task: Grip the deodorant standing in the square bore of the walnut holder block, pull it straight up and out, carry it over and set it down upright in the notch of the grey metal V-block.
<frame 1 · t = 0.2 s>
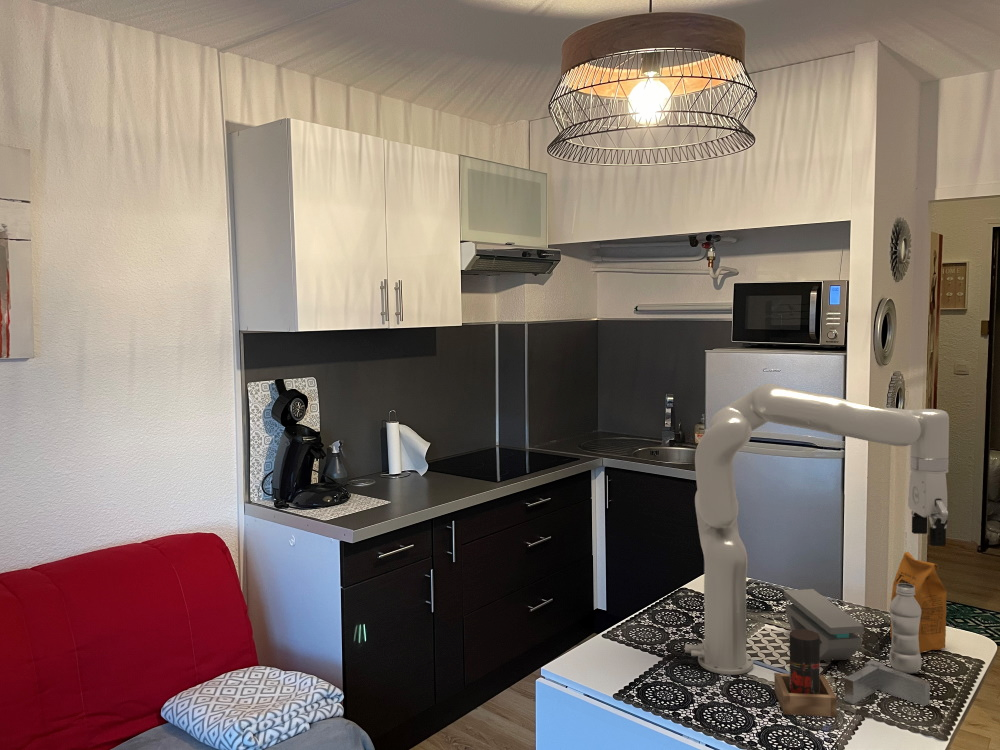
hand: (928, 539, 179), 31 cm above the table, tool pointing down, fingers open, 9 cm apart
deodorant: (804, 704, 168), on the table
holder block: (804, 703, 168), on the table
v block: (884, 700, 169), on the table
coffee package: (916, 644, 197), on the table
plastic bottle: (905, 671, 182), on the table
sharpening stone: (821, 651, 194), on the table
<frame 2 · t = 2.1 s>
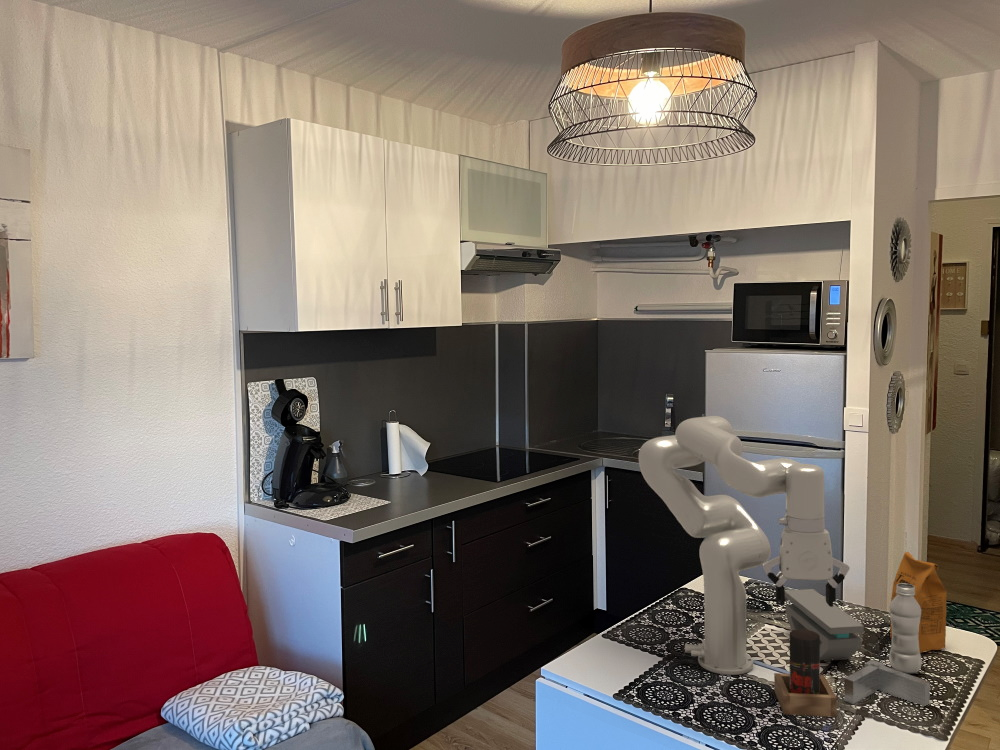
hand: (805, 603, 167), 22 cm above the table, tool pointing down, fingers open, 9 cm apart
nothing on the table moved.
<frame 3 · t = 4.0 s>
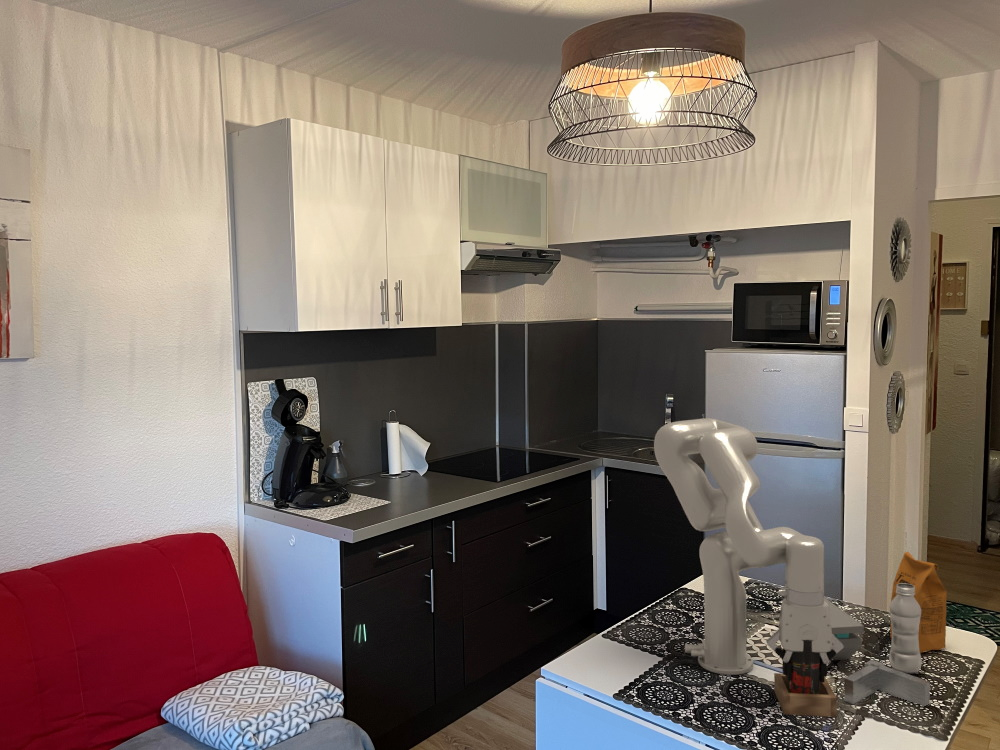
hand: (804, 677, 168), 6 cm above the table, tool pointing down, fingers closed on deodorant, 5 cm apart
deodorant: (804, 704, 168), on the table, touching gripper
everything else where it was.
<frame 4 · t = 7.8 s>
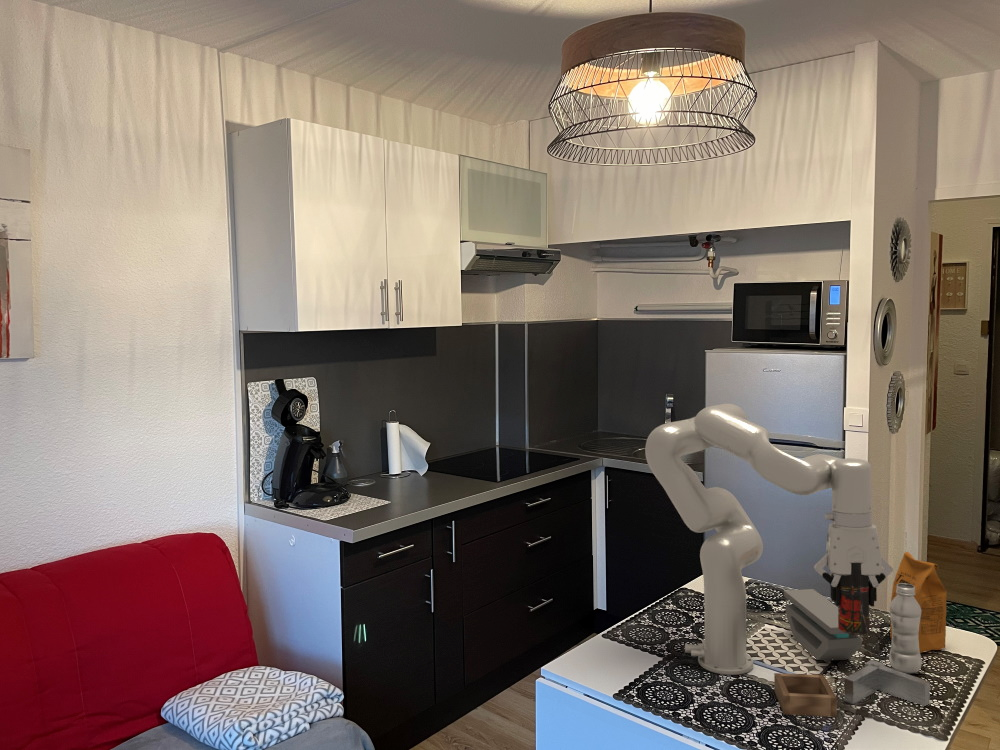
hand: (853, 603, 165), 22 cm above the table, tool pointing down, fingers closed on deodorant, 5 cm apart
deodorant: (853, 630, 166), point 16 cm above the table, touching gripper
everything else where it was.
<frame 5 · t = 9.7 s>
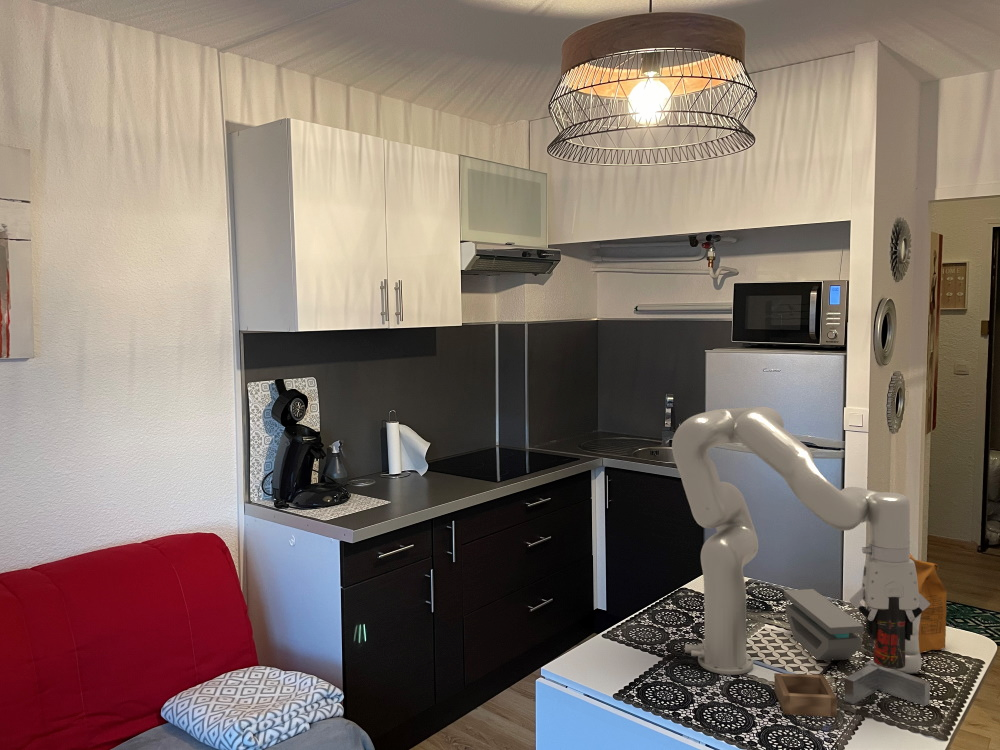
hand: (889, 636, 166), 15 cm above the table, tool pointing down, fingers closed on deodorant, 5 cm apart
deodorant: (889, 663, 166), point 9 cm above the table, touching gripper
everything else where it was.
when the fingers open (7 cm above the table, at t = 11.5 s): deodorant drops 1 cm, on the table.
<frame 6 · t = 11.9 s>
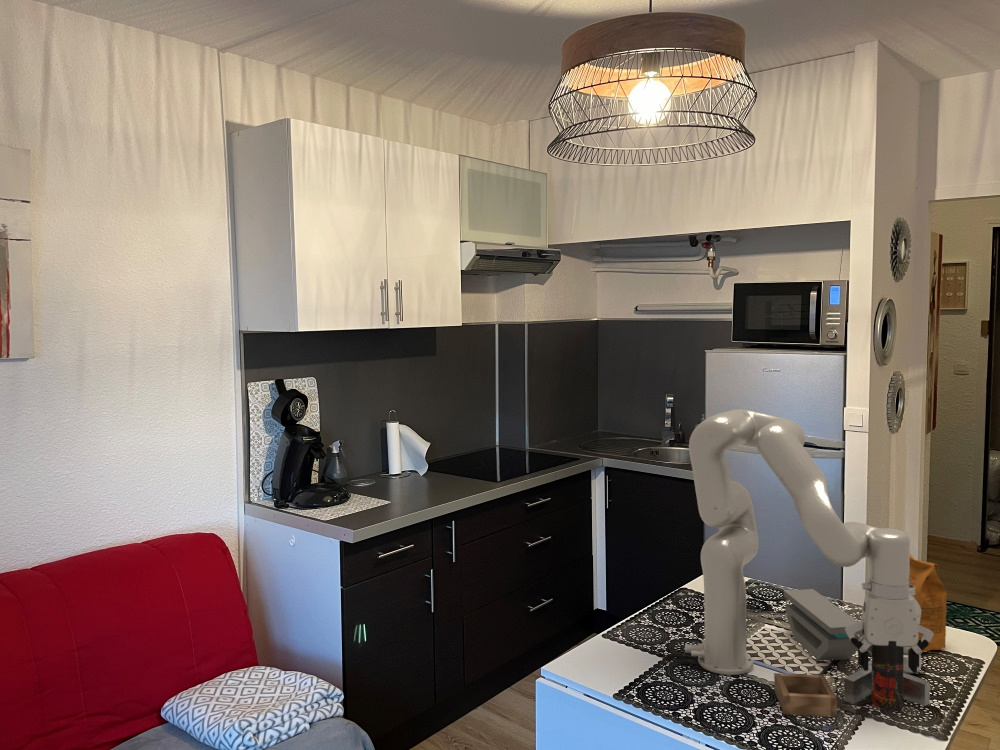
hand: (888, 669, 166), 8 cm above the table, tool pointing down, fingers open, 9 cm apart
deodorant: (887, 705, 167), on the table
everything else where it was.
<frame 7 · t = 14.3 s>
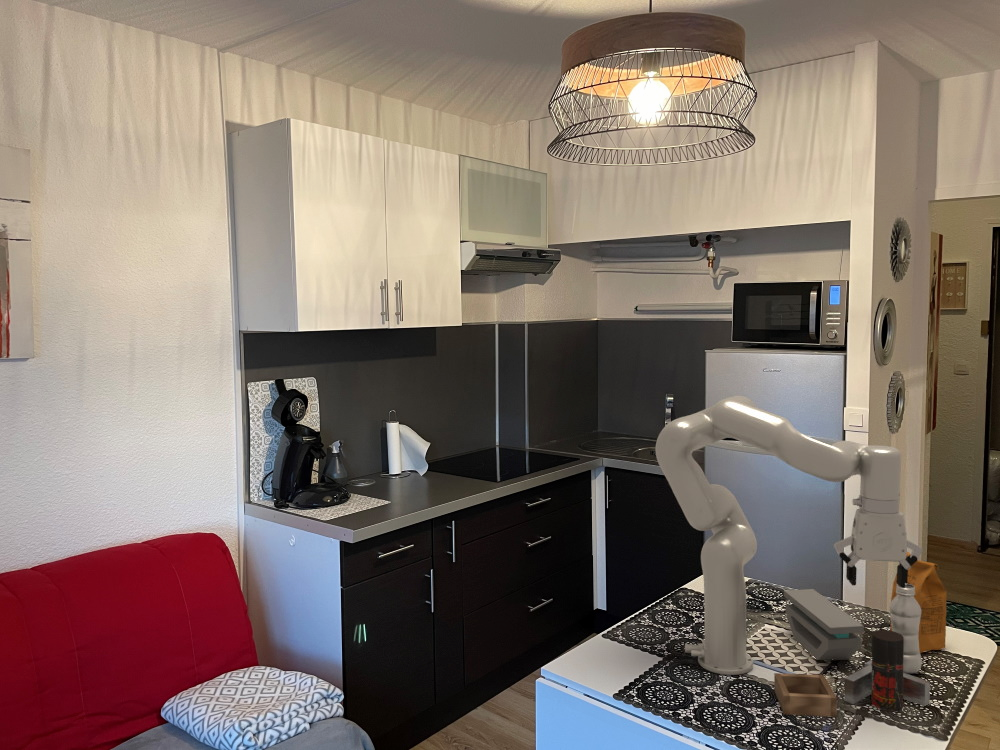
hand: (876, 584, 168), 25 cm above the table, tool pointing down, fingers open, 9 cm apart
nothing on the table moved.
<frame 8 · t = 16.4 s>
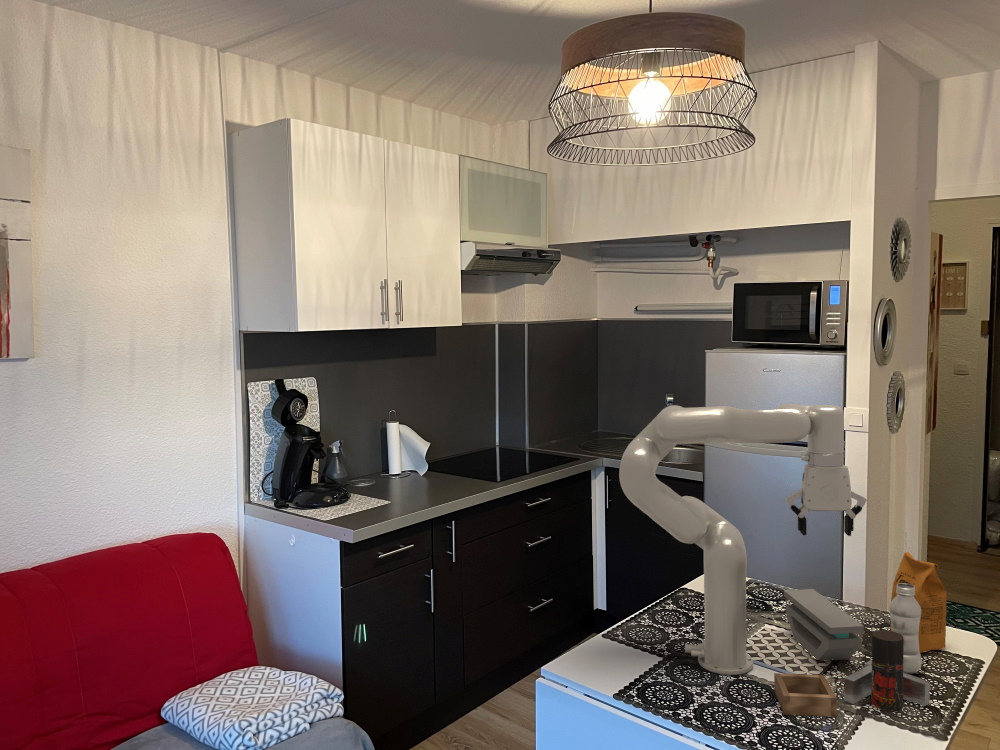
hand: (825, 534, 181), 32 cm above the table, tool pointing down, fingers open, 9 cm apart
nothing on the table moved.
at the end: deodorant 0.5 cm from the target spot on the v block, point 0.0 cm above the v block's base; deodorant tilted 0°; the gripper is holding nothing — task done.
